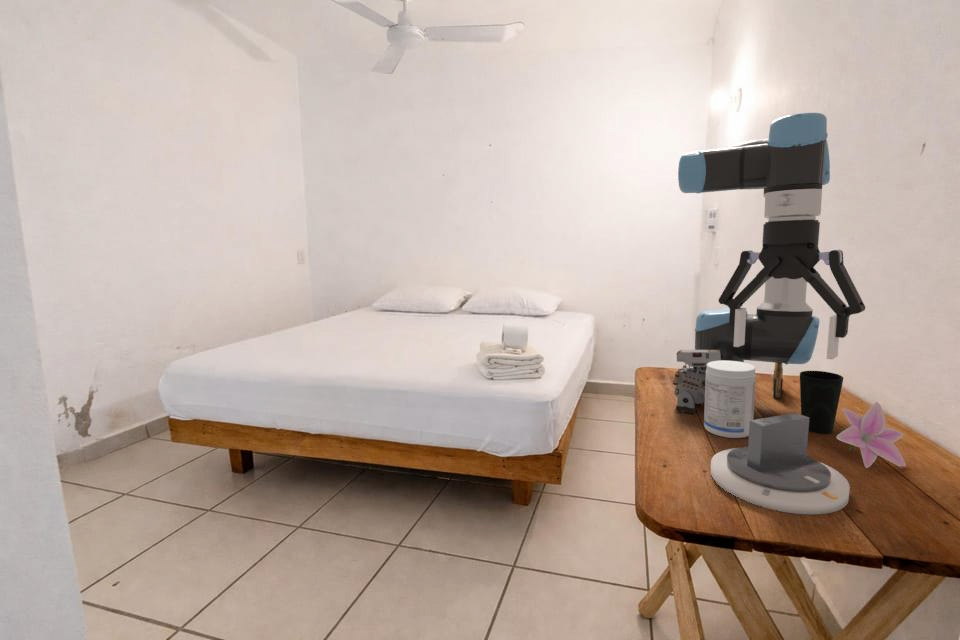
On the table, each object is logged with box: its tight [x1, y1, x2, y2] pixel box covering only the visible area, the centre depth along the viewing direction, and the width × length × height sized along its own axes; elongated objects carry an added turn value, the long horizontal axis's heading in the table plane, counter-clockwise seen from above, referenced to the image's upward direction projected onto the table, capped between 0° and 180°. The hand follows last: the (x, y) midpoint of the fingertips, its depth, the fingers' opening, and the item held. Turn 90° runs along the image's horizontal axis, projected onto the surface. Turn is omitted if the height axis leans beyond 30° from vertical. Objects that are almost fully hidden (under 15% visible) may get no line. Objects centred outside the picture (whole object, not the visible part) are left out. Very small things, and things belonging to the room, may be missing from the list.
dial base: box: [710, 447, 851, 516], centre depth 83 cm, size 20×20×2 cm
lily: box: [836, 401, 907, 469], centre depth 91 cm, size 12×12×10 cm
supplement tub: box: [703, 360, 757, 439], centre depth 105 cm, size 10×10×15 cm
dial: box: [727, 412, 831, 492], centre depth 82 cm, size 15×15×9 cm
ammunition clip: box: [772, 362, 784, 400], centre depth 130 cm, size 11×2×12 cm, turn 150°
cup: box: [799, 370, 844, 435], centre depth 105 cm, size 8×8×12 cm
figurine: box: [672, 349, 723, 415], centre depth 119 cm, size 9×12×15 cm
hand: (782, 351), depth 80 cm, fingers open, 13 cm apart
